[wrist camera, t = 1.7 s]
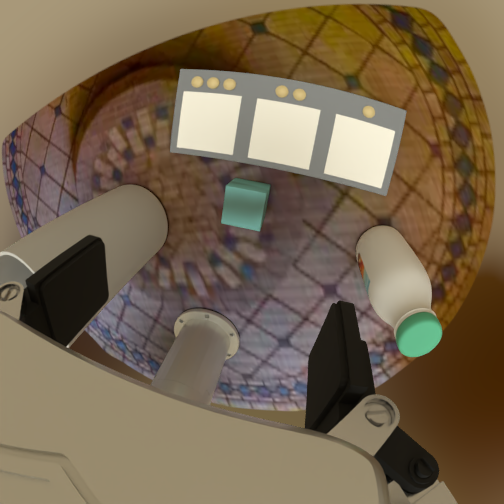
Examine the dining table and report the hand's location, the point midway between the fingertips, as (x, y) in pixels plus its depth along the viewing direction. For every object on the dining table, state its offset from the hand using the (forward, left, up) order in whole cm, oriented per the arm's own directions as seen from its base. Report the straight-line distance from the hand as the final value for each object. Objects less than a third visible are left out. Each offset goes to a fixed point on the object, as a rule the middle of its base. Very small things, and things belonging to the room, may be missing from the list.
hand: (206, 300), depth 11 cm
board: (+6, 0, -30) cm, 31 cm away
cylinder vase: (-12, +21, -30) cm, 39 cm away
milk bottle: (-8, -17, -30) cm, 36 cm away
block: (-5, +3, -30) cm, 31 cm away
